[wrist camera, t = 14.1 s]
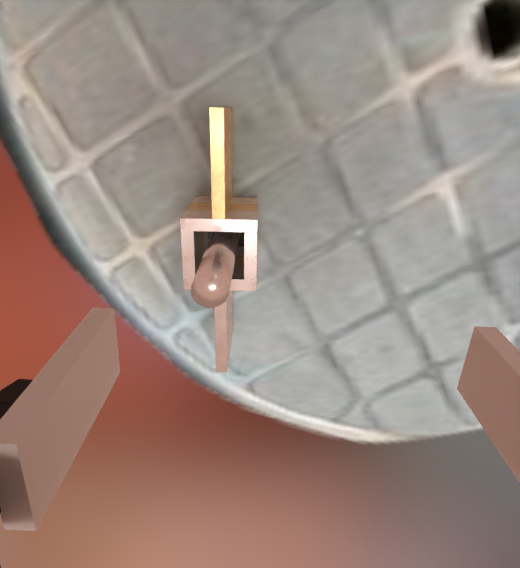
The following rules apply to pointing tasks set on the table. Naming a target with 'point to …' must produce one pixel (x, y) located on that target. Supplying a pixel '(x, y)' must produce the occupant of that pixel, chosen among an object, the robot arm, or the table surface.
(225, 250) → the hinge pin
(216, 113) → the hinge
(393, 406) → the table surface
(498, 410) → the robot arm
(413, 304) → the table surface
